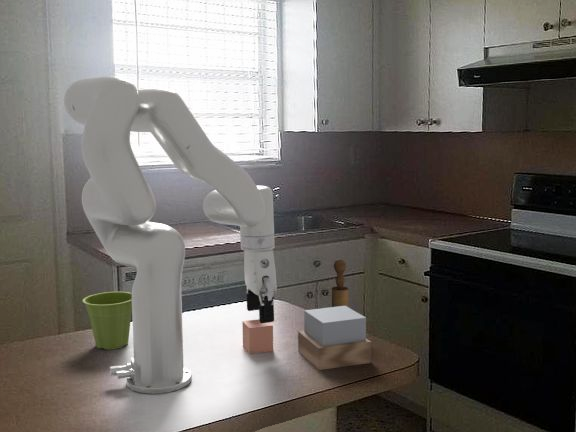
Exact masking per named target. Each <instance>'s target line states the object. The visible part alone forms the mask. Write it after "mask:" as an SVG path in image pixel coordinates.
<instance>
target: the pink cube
mask: <svg viewBox="0 0 576 432" xmlns="http://www.w3.org/2000/svg"><path fill="white" fill-rule="evenodd" d="M241 322H242V347H243V348H244V349H245V350H246V352H247V353H248V354H249V355H252V354H253V353H254V354H260V353H261V352H262V353H267V352H268V353H269V351H270V352H274V325H273V324H272V322H269V323H260V319H259V318H258V319H251V320H250V319H249V320H242V321H241Z"/></svg>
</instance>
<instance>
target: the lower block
mask: <svg viewBox="0 0 576 432" xmlns="http://www.w3.org/2000/svg"><path fill="white" fill-rule="evenodd" d="M297 335H298V336H297V337H298V338H297V347H298V348H297V349H298V350H297V352H298V353H299V354H301V355H302V356H303V358H305V359H306V361H308V362H309V363H310V364H312V365H313V366H314V368H316V369H317V370H318V371H321V370H328V369H335V368H342V367H350V366H357V365H364V364H371V363H372V341H371V340H369V339H368V338H367V337H366V340H365V341H357V342H350V343H343V344H336V345H329V346H322V345H321V344H319V343H318V342H317V341H315V340H314V339H313V338H311V337H310V336H309V335H307V334H306V333H305V332H304V330H298V332H297Z"/></svg>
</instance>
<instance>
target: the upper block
mask: <svg viewBox="0 0 576 432" xmlns="http://www.w3.org/2000/svg"><path fill="white" fill-rule="evenodd" d="M303 312H304V315H303V316H304V320H303V321H304V325H303V326H304V330H303V331H304V332H305V333H306V334H307V335H309V336H310V337H311V338H313V339H314V340H315V341H317V342H318V343H319V344H321V345H322V346H329V345H336V344H343V343H350V342H357V341H365V340H366V338H367V317H366V316H364V315H363V314H361V313H359V312H357V311H356V310H354V309H352V308H351V307H349V306H348V307H347V306H338V307H332V306H330V307H322V308H313V309H305V310H304V311H303Z"/></svg>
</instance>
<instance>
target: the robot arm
mask: <svg viewBox="0 0 576 432" xmlns="http://www.w3.org/2000/svg"><path fill="white" fill-rule="evenodd" d="M63 104H64V108H65V111H66V113H67V114H68V116H69V118H71V119H72V120H74V121H75V122H76V123H78V124H81V125H82V126H83V125H84V126H83V127H84V128H83V132H82V137H81V154H82V160H83V161H84V162H83V163H84V165H85V167H86V170H87V171H88V173H89V175H90V178H88V179H87V181H86V183H85V184H84V185H83V189H82V192H81V204H82V209H83V212H84V214H85V217H86V219H87V220H88V222H89V224H90V225H91V226H92V229H93V231H94V233H95V234H96V237H97V238H98V239H99V241H100V243H101V245H102V246H103V248H104V249H105V251H106V253H107V255H109V257H110V258H111V259H112V261H114V262H115V263H117V264H119V265H121V266H125V267H128V268H131V269H135V270H136V275H135V278H134V281H133V283H132V289H131V293H132V312H131V319H132V342H133V357H130V362H126V363H125V364H123V365H118V364H117V365H113V366H109V375H110V377H117V379H118V380H119V379H126V386H127V388H129V389H130V390H132V391H134V392H137V393H141V394H164V393H165V394H166V393H170V392H174V391H175V392H176V391H178V390H180V389H183V388H185V387H186V386H188V385H189V384H190V383H191V381H192V379H193V377H192V372H191V371H190V370H189V369H188V368H186V367H185V366H184V345H183V343H184V340H183V339H184V338H183V306H182V305H183V304H182V301H183V300H182V280H183V277H182V276H183V270H184V264H185V259H186V244H185V241H184V238H183V237H182V235H181V233H179V232H178V230H177V229H175V228H174V227H172V226H170V225H168V224H165V223H159V222H155V221H154V222H153V221H150V220H151V219H152V218H153V217H154V215H155V213H156V209H157V208H156V207H157V202H156V198H155V195H154V192H153V190H152V188H151V186H150V185H149V183H148V180H147V178H146V177H145V174H144V173H143V170H142V169H141V166H140V165H139V162H138V161H137V159H136V156H135V154H134V151H133V149H132V146H131V139H130V137H131V132H133V133H135V132H136V133H151V134H152V136H153V137H154V138H155V140H156V141H157V142H158V144H159V145H160V147H161V148H162V149H163V151H164V152H165V153H166V155H167V156H168V158H169V159H170V160H171V162H172V163H173V165H174V166H175V167H176V169H177V170H178V171H180V172H182V173H183V174H185V175H186V176H188V177H189V178H191V179H194V180H196V181H197V182H198V181H199V182H201V183H203V184H204V185H207V186H209V187H210V188H212V189H213V190H212V191H211V192H209V193H208V194H207V195H206V196H205V198H204V200H203V202H202V209H203V212H204V215H205V216H206V217H207V218H208V219H209V220H210V221H212V222H214V223H217V224H221V225H229V226H231V225H232V226H237V227H239V233H240V238H239V239H240V250H242V251H244V253H243V259H244V260H243V264H244V265H243V269H244V271H243V272H244V283H245V286H246V289H245V290H246V291H245V292H246V311H248V312H250V311H251V312H252V311H258V313H259V315H258V317H259V318H258V319H260V323H269V322H270V323H273V322H275V307H274V306H275V305H274V304H275V302H274V299H275V296H274V294H276V293H277V291H278V285H277V282H278V281H277V271H276V263H275V262H276V261H275V255H274V254H275V253H274V249H275V247H276V246H275V220H274V219H275V218H274V217H275V216H274V192H273V190H272V189H271V187H269V186H266V185H256V183H255V181H254V180H253V179H252V177H251V176H250V175H249V174H248V172H247V171H246V170H245V169H244V168H243V167H241V166H240V164H239V163H237V162H236V161H234V160H233V159H231V158H230V156H228V155H227V154H226V153H224V152H223V151H222V150H221V149H219V148H218V147H216V146H215V145H214V144H213V143H212V142H211V139H209V137H208V136H207V134H206V133H205V131H204V130H203V128H202V127H201V125H200V124H199V122H198V121H197V119H196V118H195V117H194V115H193V113H192V112H191V110H190V108H189V107H188V105H187V104H186V103H185V101H184V99H182V97H181V96H180V94H179V93H177V92H176V91H175V90H173V89H172V88H167V87H147V88H137V87H136V85H135V84H134V83H133V82H132V81H131V80H129V79H127V78H126V77H123V76H118V75H116V76H115V75H108V76H106V75H105V76H98V77H87V78H81V79H78V80H76V81H74V82H73V83H71V84H70V85H69V86H68V88H66V91H65V93H64V98H63Z"/></svg>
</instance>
